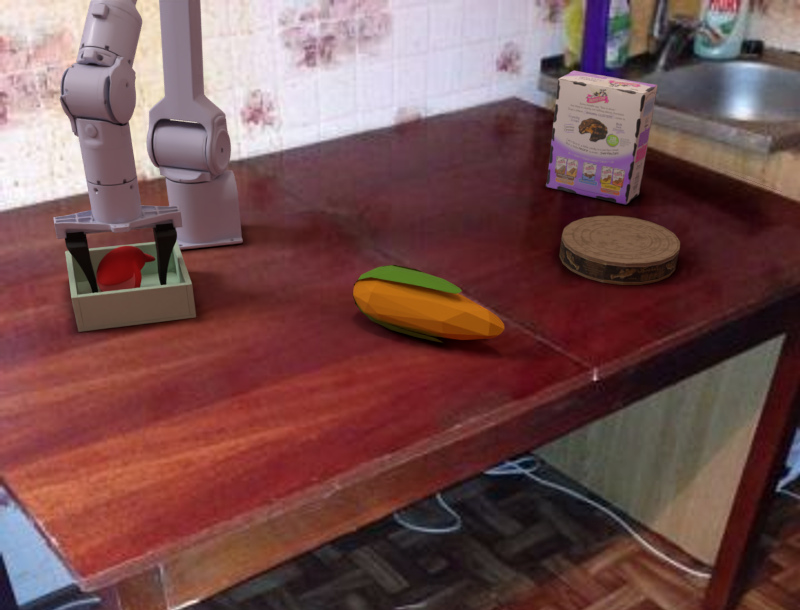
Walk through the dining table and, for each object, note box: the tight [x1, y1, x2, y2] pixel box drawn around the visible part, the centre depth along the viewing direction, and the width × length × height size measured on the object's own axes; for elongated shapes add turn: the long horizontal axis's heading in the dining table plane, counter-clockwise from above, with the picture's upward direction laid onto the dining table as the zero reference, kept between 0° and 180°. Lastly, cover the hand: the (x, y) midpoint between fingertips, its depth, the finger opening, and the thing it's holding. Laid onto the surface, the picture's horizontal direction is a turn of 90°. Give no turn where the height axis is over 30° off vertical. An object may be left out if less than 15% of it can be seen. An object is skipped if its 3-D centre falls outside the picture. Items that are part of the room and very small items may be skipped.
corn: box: [352, 264, 505, 344], centre depth 116 cm, size 7×8×20 cm
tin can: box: [558, 215, 681, 286], centre depth 135 cm, size 16×16×3 cm
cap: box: [96, 246, 156, 292], centre depth 121 cm, size 8×6×6 cm
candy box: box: [545, 70, 658, 206], centre depth 150 cm, size 14×6×16 cm, turn 58°
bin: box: [64, 240, 197, 333], centre depth 122 cm, size 14×13×4 cm
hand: (129, 286), depth 122 cm, fingers closed on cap, 7 cm apart
